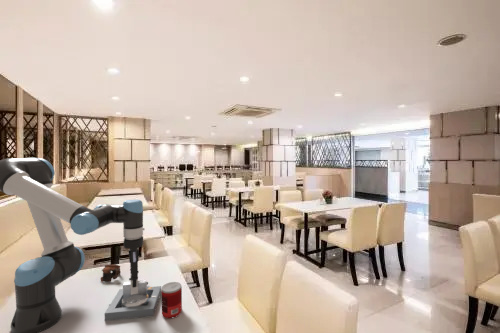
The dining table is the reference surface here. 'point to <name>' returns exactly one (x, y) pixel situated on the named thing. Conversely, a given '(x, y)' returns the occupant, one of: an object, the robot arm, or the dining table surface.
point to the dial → (135, 295)
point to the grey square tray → (133, 312)
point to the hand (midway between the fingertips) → (134, 291)
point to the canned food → (171, 299)
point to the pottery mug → (108, 275)
